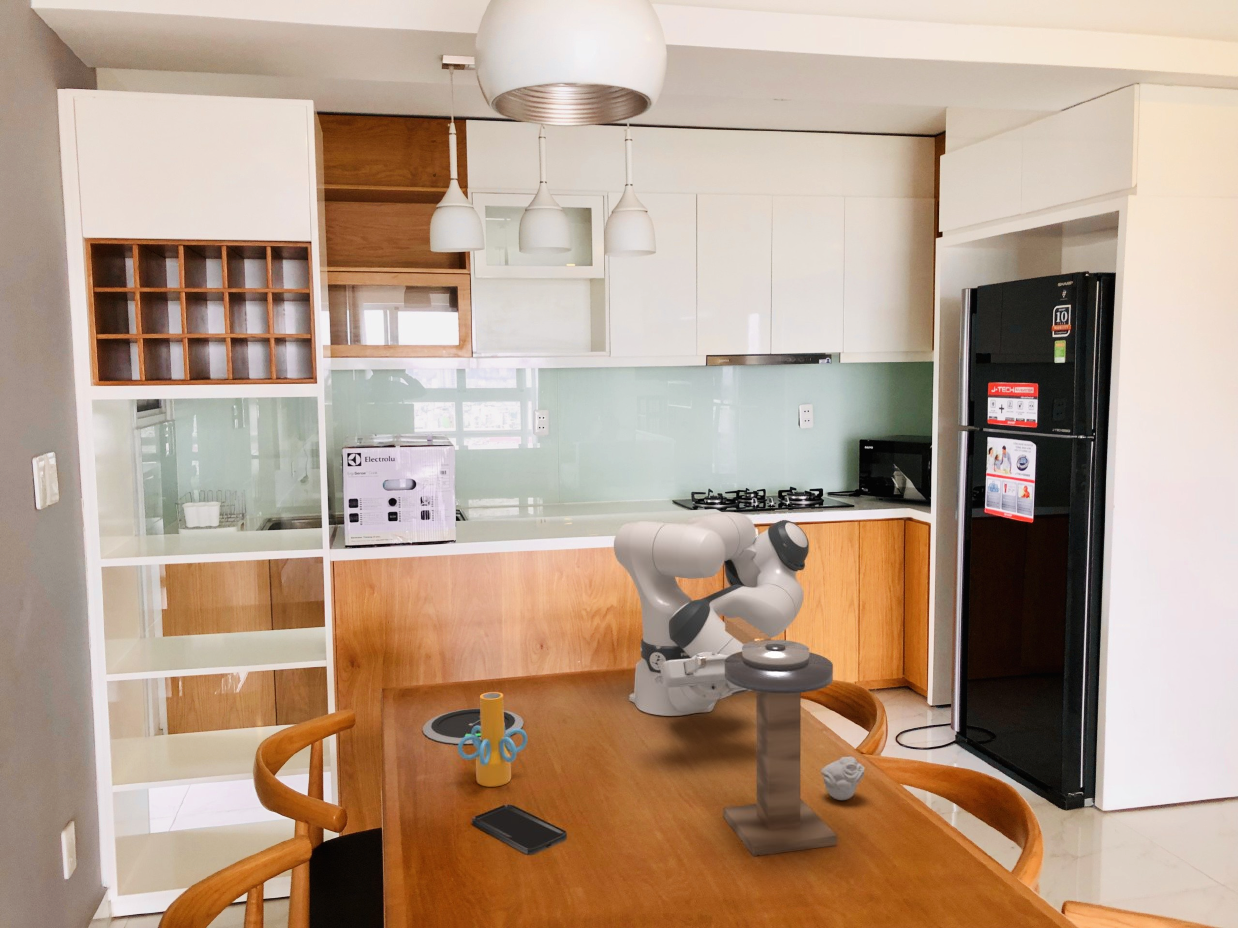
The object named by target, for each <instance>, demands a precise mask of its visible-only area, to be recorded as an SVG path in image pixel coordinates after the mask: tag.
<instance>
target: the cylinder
mask: <svg viewBox="0 0 1238 928" xmlns="http://www.w3.org/2000/svg"><path fill="white" fill-rule="evenodd" d="M504 703H505V701H504V693H502V692H498V691H490V692H485V693H482V694H480V696H479V705H480V706H479V707H480V718H481V726H475V727H474V728H473V729H472V732H471V735H468V736H465V737H464V738H462V739H461V741H460V742H459V744H458V745H457V753H458V755H459V757H461V758H462V759H463V760H466V761H468V760H469V761H470V760H474V759H475V777H476V778H475V780H476V783H477V784H478V785H480V786H482V787H487V788H488V787H489V788H491V787H500V786H501V787H502V786H505V785H507V784H508V783H509V782H510V781H511V779H512V768H511V767H512V764H511V763H513V761H515V760H516V758H517V753H519V752H521V751H522V750H524V749H525V748H526V746H527V743H528V735H527V733H526V731H525V730H524V729H523V728H522V729H519V728H515V729H512V730H510V731H508V732H507V734H506V729H505V725H504V710H505V709H504V708H505V707H504V706H505V704H504ZM477 730H479V731H480V732H481V739H480V738H479V737H477V736H476V731H477ZM514 733H516V734H519V735H521V736H522V743H521V744H520V745H519V746H518V747H517V746H516V744H515V742H514V741H513V740H512V738H511V737H512V736H511V735H512V734H514ZM510 736H511V737H510ZM468 740H472V742H473V744H474V745H473V746H474V748H476V750H475V752H474V753H472V754H466V753H465V752H464V750H463V747H464V745H463V744H464V743H465V742H466V741H468Z"/></svg>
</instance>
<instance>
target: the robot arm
mask: <svg viewBox="0 0 1238 928" xmlns="http://www.w3.org/2000/svg"><path fill="white" fill-rule="evenodd" d="M809 549H810V543H809V538H808V537H807V534H806V533H805V532H804V529H802V528H801V527H800V526H799V525H798V524H796V523H794V521H791V520H787V519H782V520H779V521H777V522H775V523H772V524H770V526H769V527H768V528H767V529H766V530H764V531H762V532H761V533H760V534H758V535H757V532H756V526H755V524H754V522H753V520H751V518H749V517H748V516H747V515H746V514H743V513H740V512H734V511H719V512H713V513H709V514H703V515H699V516H698V515H697V516H693V517H691V518H689V520H687V521H686V522H685V523H675V522H662V521H655V520H638V521H633V522H632V521H631V522H628V523H624V524H623V525H622V526H621V527H620V528H619V529H618V531H617V532H616V534H615V537H614V540H613V552H614V555H615V558H616V560H617V562H618V563H619V564H620V565H621V566H622V567H623V568H624V569H625V571H626V572H627V573H628V574H629V576H630V577H631V579H632V581H633V583H634V586H635V588H636V590H637V594H638V597H639V600H640V606H641V616H642V617H641V618H642V639H640V649H639V650H640V657H641V659H640V660H638V662H637V663H636V664H635V673H634V674H635V675H634V692H632V693H630V694H629V695H628V697H629V698H628V700H629V701H630V702H632V703H634V704H635V706H636V708H637V709H638V710H640V711H641V712H644V713H646V714H652V715H656V716H666V717H667V716H669V717H670V716H671V717H673V716H685V715H691V714H696V713H700V714H701V713H709V712H712V711H713V710H714V707H715V705H716V703H717V702H718V700H722V699H724V698H727V697H729V696H731V695H732V696H733V695H737V694H742V693H746V692H750V691H752V690H749V689H745V688H742V687H739V686H736V685H734V684H732V683H730V682H729V681H728V680H727V679H726V678H725V659H726V658H727V657H728V656H730V655H732V654H735V653H737V652H741V651H742V646H743V645H744V644H742V643H741V642H739V641H738V640H737V639H735V638H734V637H733V636H731V635H730V634H729V633H727V632H726V631H725V621H723V620H722V618H720V616H723V617H725V618H735V617H740V618H742V619H743V620H745V621H746V622H748V623H749V624H751V625H752V626H754V627H755V628H757V629H758V630H760V631H761V632H763V633H764V634H766V635H767V636H769V637H770V638H771V639H772V638H775V637H777V636H779V635H780V634H782V633H783V632H785V631H786V630H787V629H788V628H789V626H790V625H792V623H793V622H794V621H795V619H796V618H797V616H798V614H799V612H800V610H801V608H802V607H803V602H804V595H805V594H804V589H803V587H802V585H801V583H800V582H799V581H798V580H797V577H796V576H797V575H796V574H797V572H798V571H803V570H804V569H805V567H806V560H807V558H808V554H809V551H810V550H809ZM723 566H724V573H725V578H726V580H727V583H728V585H729V586H727V587H725V588H723V589H720V590H718V591H716V592H713V593H711V594H708V595H707V596H705V597H702V598H700V599H694V600H692V598H691V597H690V595H688V594H686V593H685V591H683V589H682V588H681V587H680V585H679V583H678V582H677V578H681V579H688V580H694V579H707V578H712V577H714V576H716V575H717V574H718V573H719V572H720V570H721V569H722V567H723Z"/></svg>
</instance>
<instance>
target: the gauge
mask: <svg viewBox="0 0 1238 928" xmlns="http://www.w3.org/2000/svg"><path fill="white" fill-rule="evenodd" d="M524 724H525V723H524V719H523V717H521V716H520V715H518V714H516V713H514V712H513V711H509V710H505V709H504V725H505V729H506V734H507V732H508V731H510V730H512V729H515V728H519V729H522V730H523V727H524ZM475 726H481V718H480V708H478V707H477V708H467V709H465V708H464V709H458V710H454V711H449V712H446V713H441V714H439V715H437V716H434V717H432V718H431V719H429V720H427V722H425V724H424V725H423V726H422V734H423V735H424V737H425V738H427V739H428V740H430V741H434V742H436V743H440V744H444V745H452V746H458V744H459V742H460V741H461V739H462V738H464V737H465V736H468V735H471V732H472V729H473V728H474V727H475ZM516 734H517V733H514V734H512V735H511V736H510V737H509V738H511V737H513V736H515V735H516ZM476 736H477V737H479V738H480V739H481V732H480V731H479V730H477V731H476ZM463 746H474V744H473V742H472V740H468V741H466V742H465V743H464V744H463Z"/></svg>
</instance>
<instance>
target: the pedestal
mask: <svg viewBox="0 0 1238 928" xmlns="http://www.w3.org/2000/svg"><path fill="white" fill-rule="evenodd" d="M725 678H726V679H727V680H728V681H729V682H730V683H732V684H734V685H736V686H739V687H742V688H745V689H749V690H751V691H753V692H756V694H755V695H756V699H755V700H756V701H755V702H756V704H755V705H756V707H755V708H756V723H755V724H756V803H752V804H751V803H750V804H744V805H734V806H727V807H726V806H725V807H723V812H722V813H723V818H724V820H725V821H726V822H727V824H728V825H729V826H730V827H731V828H732V831H734V833H735V834H736V836H737V838H739V839H740V840H742V841H743V842H742V841H741V842H742V844H744V846H745V848H747V850H748V851H749V852H750V853H751V855H752V856H753V857H757V855H760V856H767V855H774V854H775V855H776V854H780V853H781V854H782V853H789V852H797V851H804V850H811V849H817V848H818V849H819V848H820V849H821V848H826V847H827V848H828V847H834V846H838V835H837V834H836V833H835V832H834V831H833V829H832V828H831V827H830V826H828V824H826V823H825V822H824V820H823V819H821V818H820V816H818V815H817V813H815V812H814V810H812V809H811V808H810V807H809V805H807V803H805V802H804V800H803V799H802V798H801V756H802V755H801V746H802V745H801V739H802V738H801V734H802V733H801V732H802V731H801V730H802V728H801V727H802V725H801V718H802V717H801V715H802V714H801V710H802V708H801V705H802V704H801V703H802V701H801V699H802V698H801V696H802V695H801V693H808V692H813V691H817V690H820V689H824V688H826V687H828V686H829V685H832V682H833V680H834V664H833V662H832V661H831V660H830V659H829V658H827V657H825V656H824V655H820V654H817V653H813V652H810V651H809V665H808V666H807V667H805V668H802V669H798V670H793V671H766V670H759V669H755V668H751V667H749V666H747V665H745V664H744V663H743V662H742V651H741V652H737V653H735V654H732V655H730V656H728V657H727V658H726V659H725ZM766 854H767V855H766Z"/></svg>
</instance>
